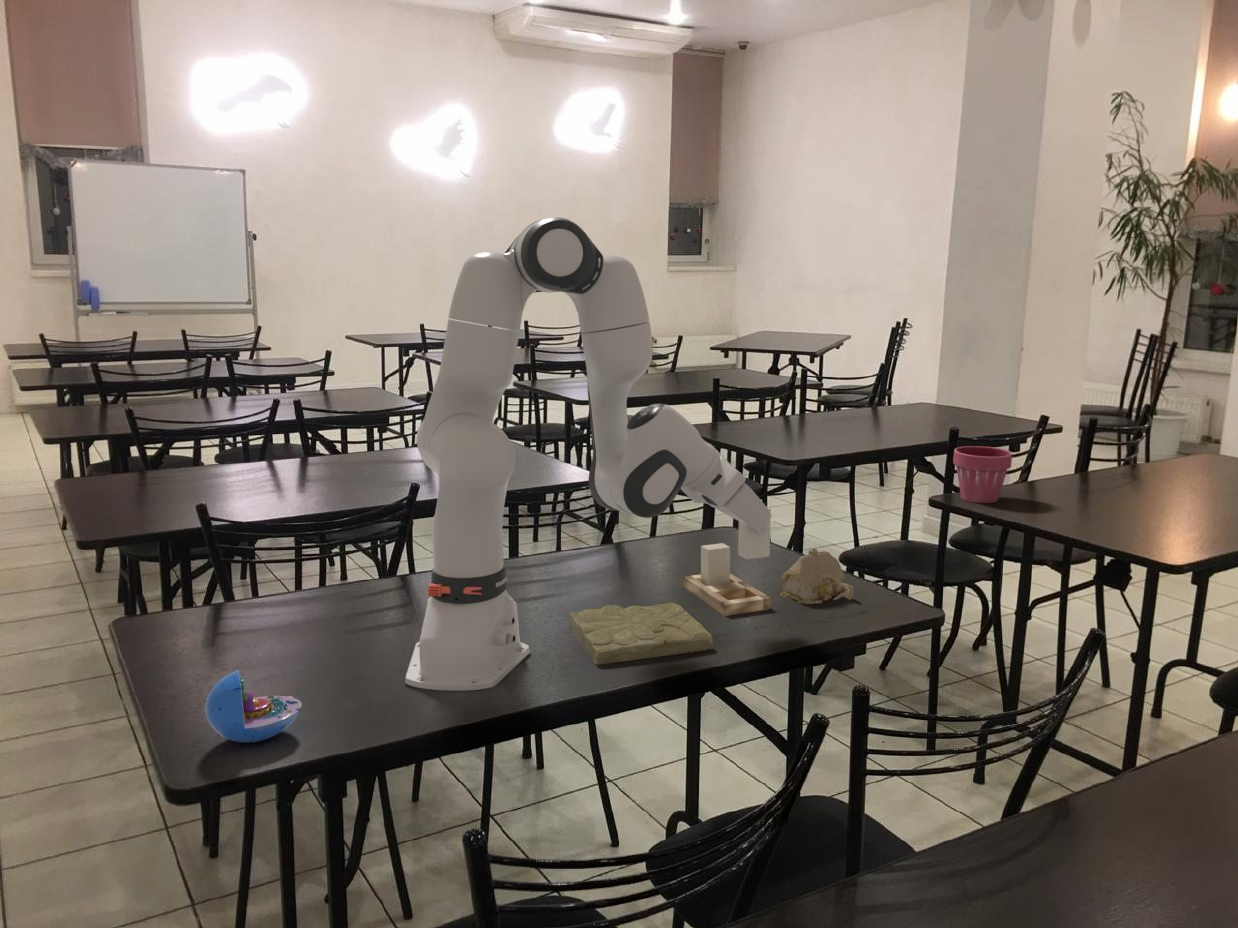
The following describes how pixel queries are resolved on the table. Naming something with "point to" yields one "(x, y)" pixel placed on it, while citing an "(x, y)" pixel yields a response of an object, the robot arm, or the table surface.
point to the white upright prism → (715, 564)
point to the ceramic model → (815, 579)
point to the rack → (729, 595)
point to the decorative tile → (637, 632)
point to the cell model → (247, 711)
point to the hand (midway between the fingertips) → (757, 528)
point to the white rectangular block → (753, 542)
